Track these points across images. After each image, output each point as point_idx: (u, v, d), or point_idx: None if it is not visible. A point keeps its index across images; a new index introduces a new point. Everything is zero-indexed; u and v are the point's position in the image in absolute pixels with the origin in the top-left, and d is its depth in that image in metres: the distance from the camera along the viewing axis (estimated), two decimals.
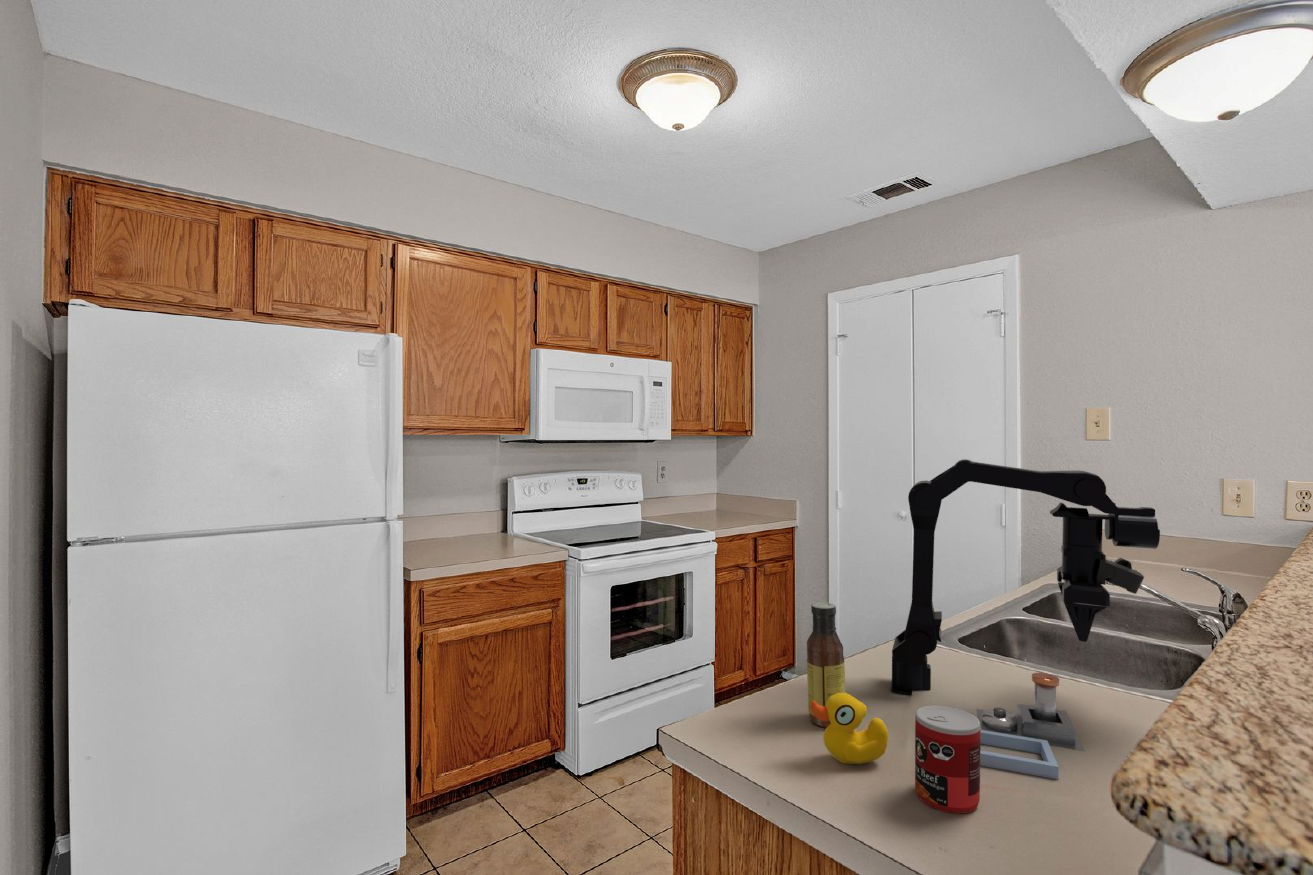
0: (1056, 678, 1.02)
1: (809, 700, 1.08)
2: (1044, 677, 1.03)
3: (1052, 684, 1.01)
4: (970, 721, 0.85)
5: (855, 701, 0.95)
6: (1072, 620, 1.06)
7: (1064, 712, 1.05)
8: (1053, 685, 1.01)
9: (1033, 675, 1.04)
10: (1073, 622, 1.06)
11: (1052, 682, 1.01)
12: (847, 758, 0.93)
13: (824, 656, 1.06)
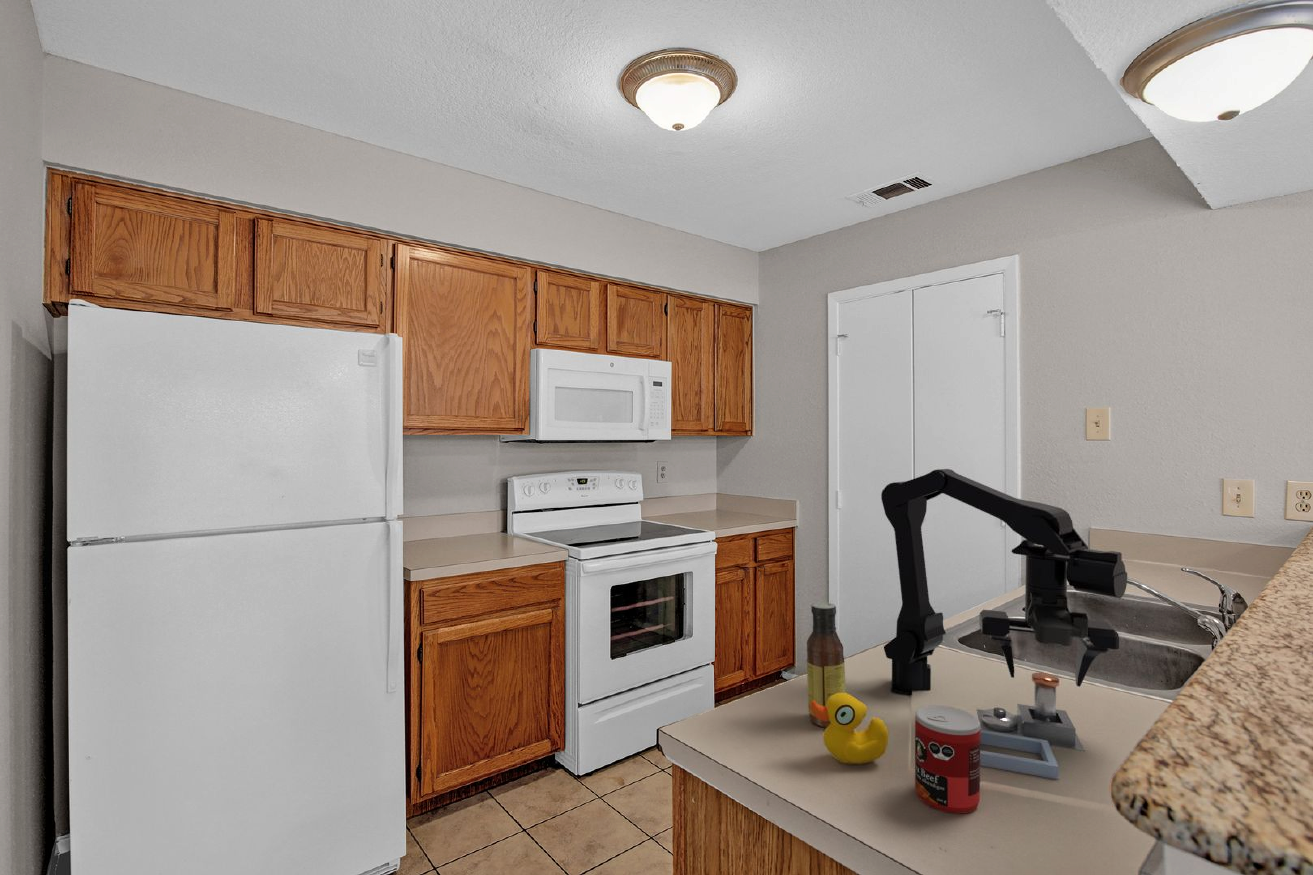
0: (1056, 678, 1.02)
1: (809, 700, 1.08)
2: (1044, 677, 1.03)
3: (1052, 684, 1.01)
4: (970, 721, 0.85)
5: (855, 701, 0.95)
6: None
7: (1064, 712, 1.05)
8: (1053, 685, 1.01)
9: (1033, 675, 1.04)
10: None
11: (1052, 682, 1.01)
12: (847, 758, 0.93)
13: (824, 656, 1.06)
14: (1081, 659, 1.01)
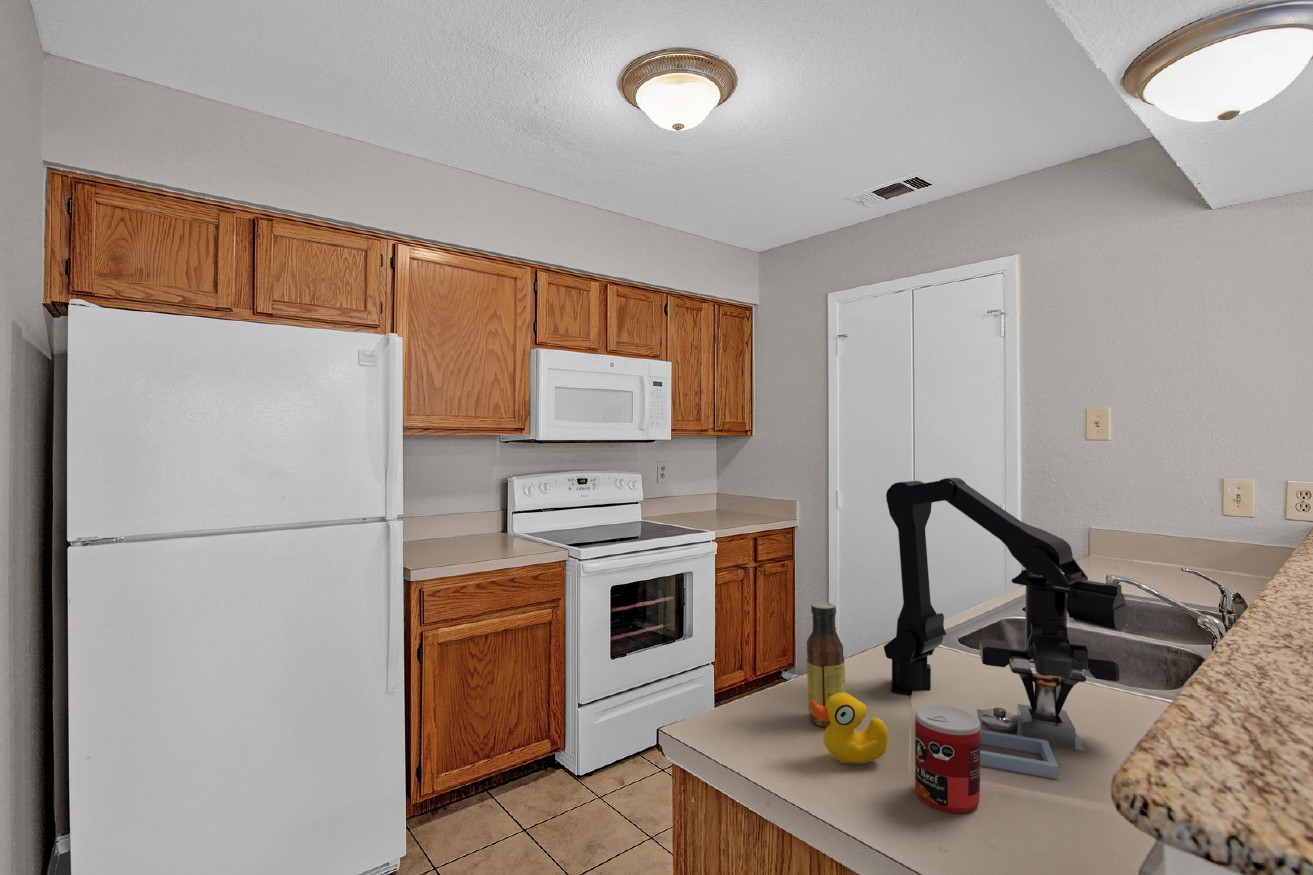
0: (1056, 678, 1.02)
1: (809, 700, 1.08)
2: (1044, 677, 1.03)
3: (1052, 684, 1.01)
4: (970, 721, 0.85)
5: (855, 701, 0.95)
6: None
7: (1064, 712, 1.05)
8: (1053, 685, 1.01)
9: (1033, 675, 1.04)
10: None
11: (1052, 682, 1.01)
12: (847, 758, 0.93)
13: (824, 656, 1.06)
14: (1060, 687, 1.02)
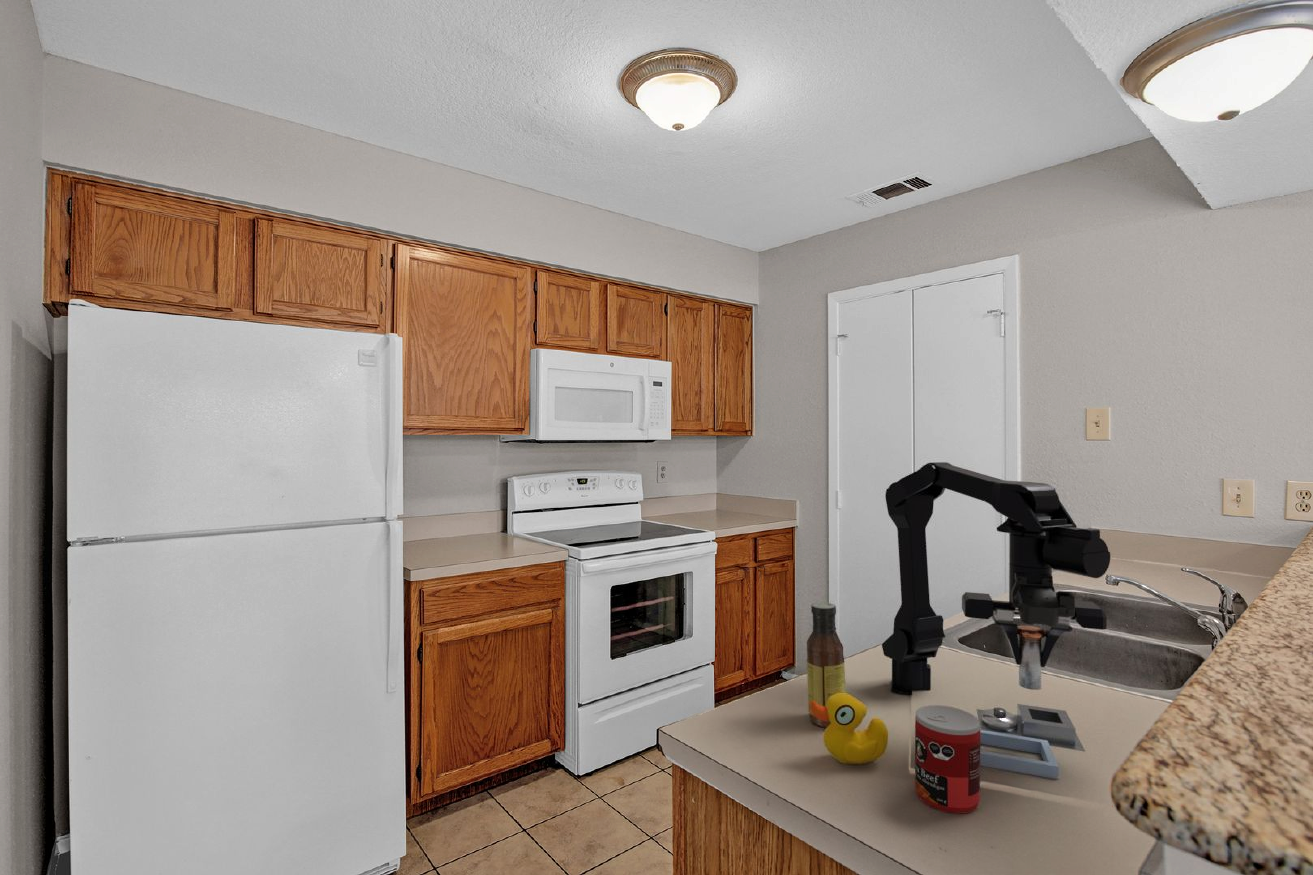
0: (1041, 630, 0.98)
1: (809, 700, 1.08)
2: (1028, 629, 0.99)
3: (1038, 636, 0.97)
4: (970, 721, 0.85)
5: (855, 701, 0.95)
6: (1007, 637, 1.01)
7: (1064, 712, 1.05)
8: (1038, 636, 0.97)
9: (1017, 628, 0.99)
10: None
11: (1037, 633, 0.97)
12: (847, 758, 0.93)
13: (824, 656, 1.06)
14: (1045, 639, 0.97)
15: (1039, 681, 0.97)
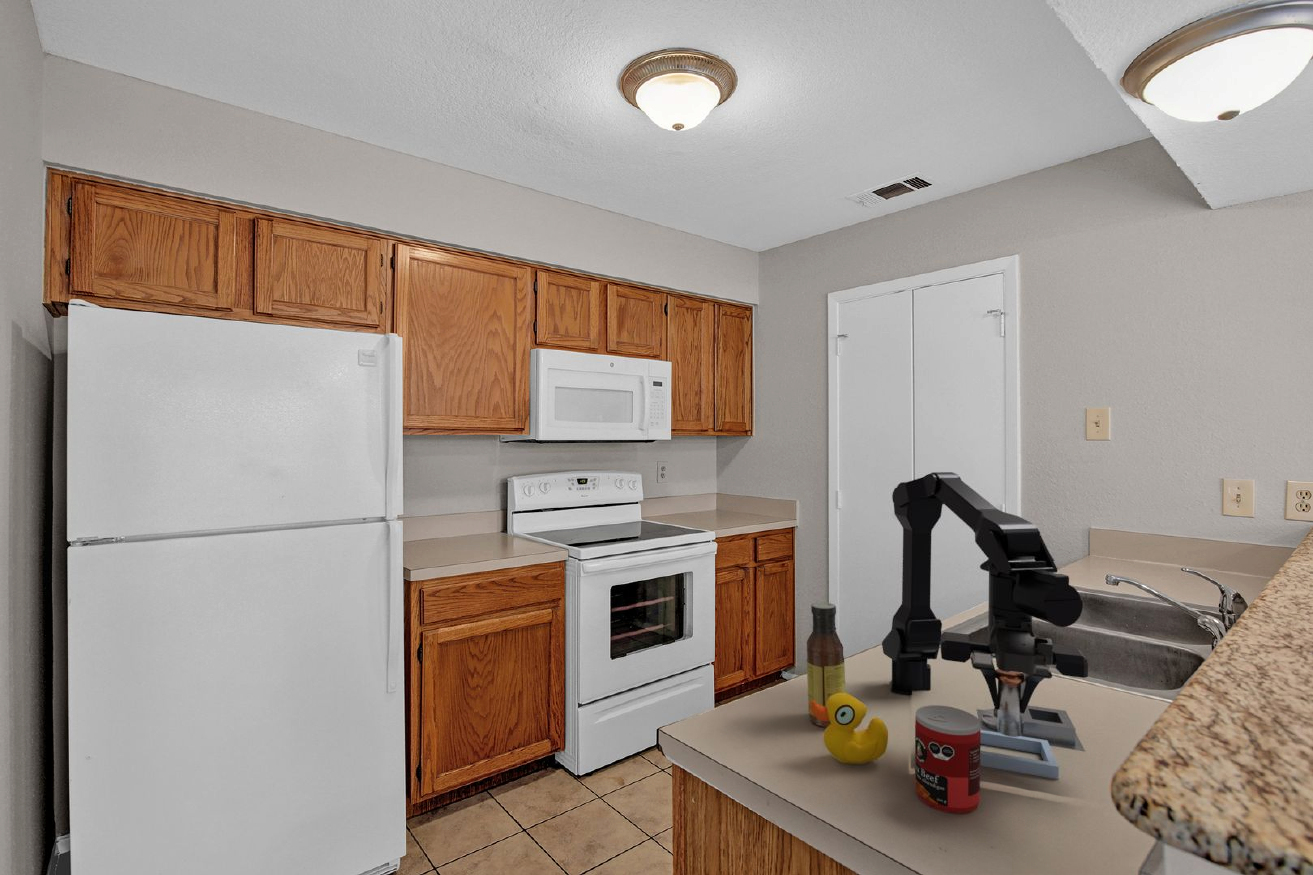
0: (1021, 675, 0.94)
1: (809, 700, 1.08)
2: (1008, 673, 0.95)
3: (1016, 681, 0.93)
4: (970, 721, 0.85)
5: (855, 701, 0.95)
6: None
7: (1064, 712, 1.05)
8: (1017, 682, 0.93)
9: (996, 671, 0.96)
10: None
11: (1016, 679, 0.93)
12: (847, 758, 0.93)
13: (824, 656, 1.06)
14: (1024, 684, 0.93)
15: (1018, 728, 0.94)
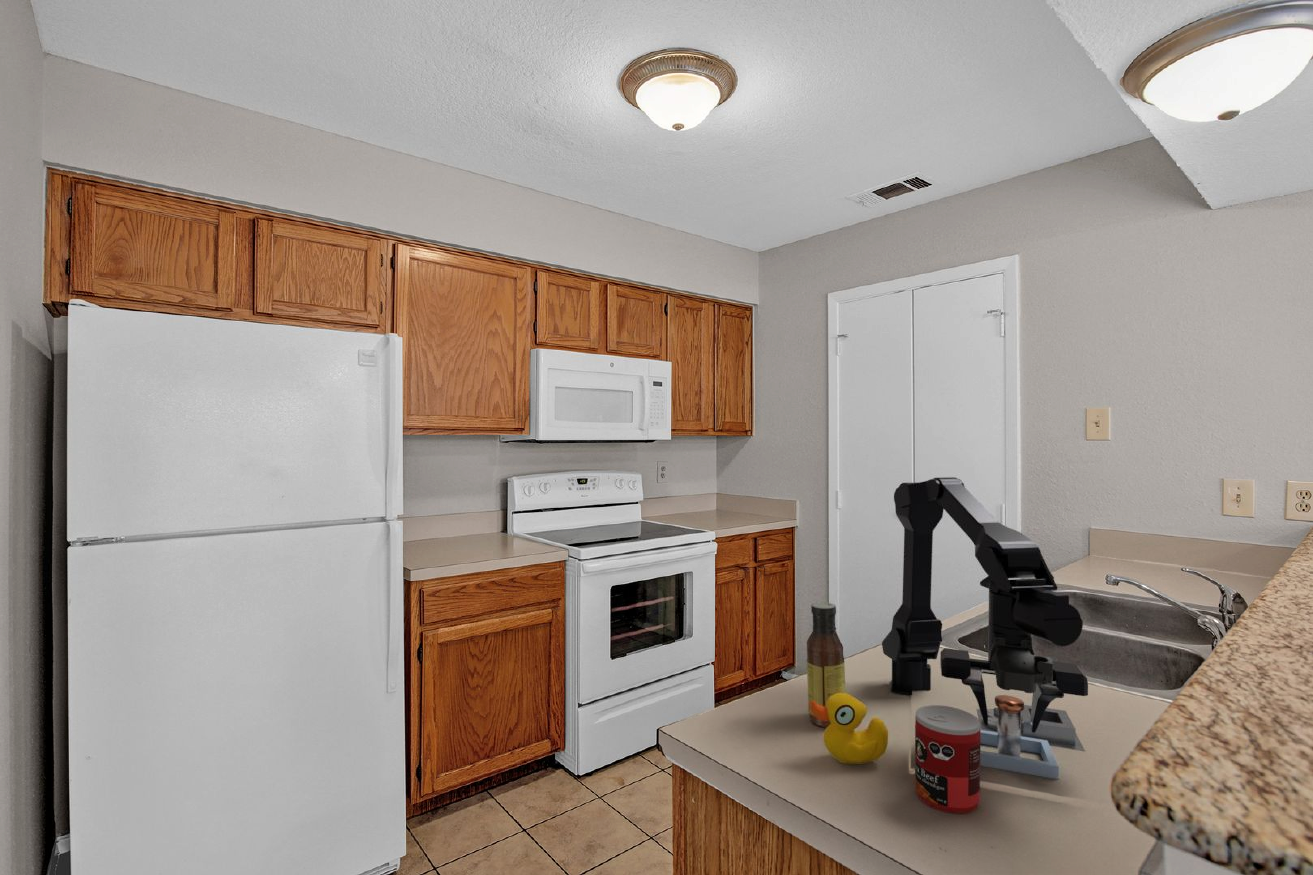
0: (1020, 702, 0.94)
1: (809, 700, 1.08)
2: (1007, 700, 0.95)
3: (1016, 709, 0.93)
4: (970, 721, 0.85)
5: (855, 701, 0.95)
6: None
7: (1064, 712, 1.05)
8: (1017, 710, 0.93)
9: (996, 698, 0.96)
10: None
11: (1016, 706, 0.93)
12: (847, 758, 0.93)
13: (824, 656, 1.06)
14: (1036, 703, 0.93)
15: (1018, 755, 0.94)
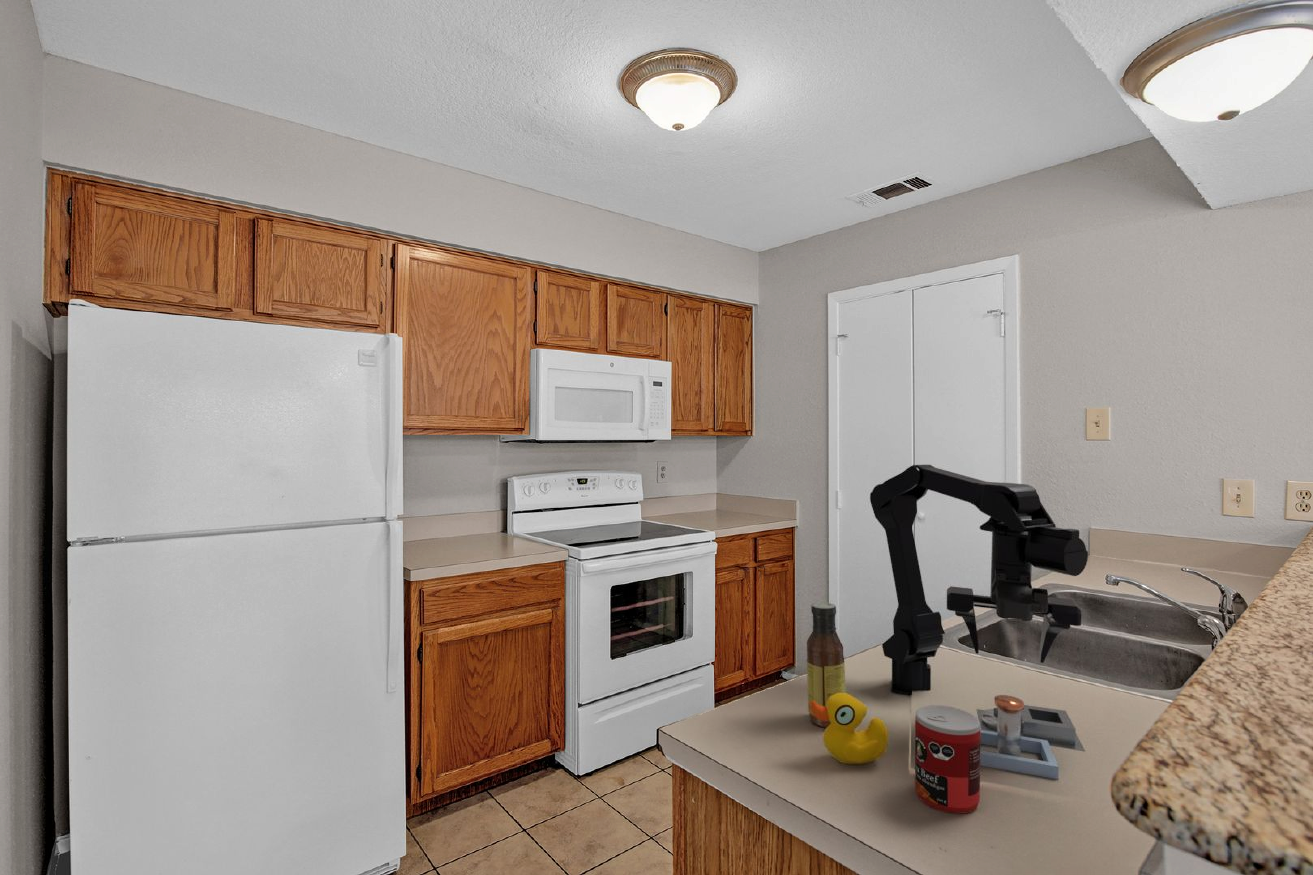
0: (1020, 702, 0.94)
1: (809, 700, 1.08)
2: (1007, 700, 0.95)
3: (1016, 709, 0.93)
4: (970, 721, 0.85)
5: (855, 701, 0.95)
6: None
7: (1064, 712, 1.05)
8: (1017, 709, 0.93)
9: (996, 698, 0.96)
10: None
11: (1015, 706, 0.93)
12: (847, 758, 0.93)
13: (824, 656, 1.06)
14: (1044, 636, 1.01)
15: (1018, 755, 0.94)
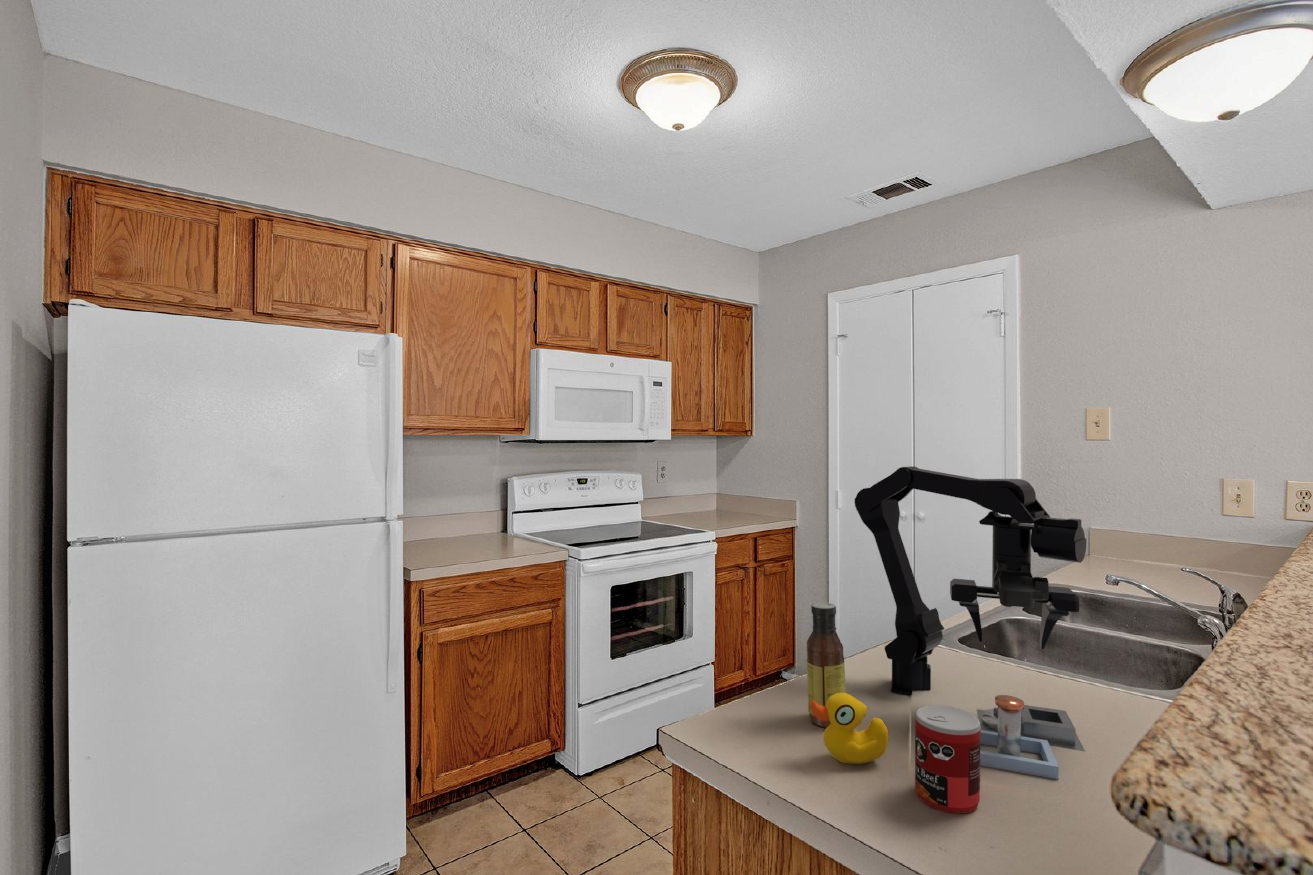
0: (1021, 702, 0.94)
1: (809, 700, 1.08)
2: (1008, 700, 0.95)
3: (1016, 708, 0.93)
4: (970, 721, 0.85)
5: (855, 701, 0.95)
6: None
7: (1064, 712, 1.05)
8: (1017, 709, 0.93)
9: (996, 698, 0.96)
10: None
11: (1016, 706, 0.93)
12: (847, 758, 0.93)
13: (824, 656, 1.06)
14: (1044, 623, 1.06)
15: (1018, 755, 0.94)
